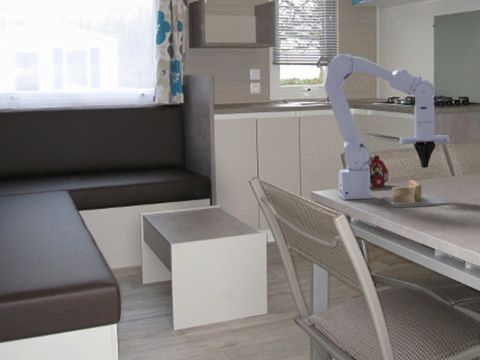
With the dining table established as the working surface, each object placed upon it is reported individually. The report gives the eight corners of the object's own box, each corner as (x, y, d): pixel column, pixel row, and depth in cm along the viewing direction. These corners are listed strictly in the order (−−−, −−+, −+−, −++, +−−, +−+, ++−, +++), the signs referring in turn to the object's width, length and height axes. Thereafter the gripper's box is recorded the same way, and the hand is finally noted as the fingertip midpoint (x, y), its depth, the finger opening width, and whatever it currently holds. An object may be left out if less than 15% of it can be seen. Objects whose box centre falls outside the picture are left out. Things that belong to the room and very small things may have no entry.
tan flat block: (418, 199, 207) (418, 184, 206) (414, 199, 207) (414, 184, 206) (413, 194, 215) (413, 180, 214) (409, 195, 215) (409, 180, 214)
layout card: (394, 207, 201) (394, 205, 201) (381, 198, 215) (381, 196, 215) (449, 204, 202) (449, 202, 202) (433, 195, 216) (433, 194, 216)
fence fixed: (394, 203, 204) (393, 187, 203) (392, 202, 206) (391, 186, 205) (422, 202, 205) (422, 185, 204) (420, 200, 207) (420, 184, 206)
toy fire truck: (390, 187, 235) (390, 156, 233) (353, 189, 234) (352, 157, 233) (385, 184, 241) (385, 153, 240) (349, 185, 241) (349, 155, 240)
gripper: (443, 119, 214) (443, 164, 216) (396, 121, 213) (396, 166, 215) (452, 121, 207) (451, 167, 209) (403, 123, 206) (403, 169, 208)
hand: (424, 167), depth 212 cm, fingers closed
